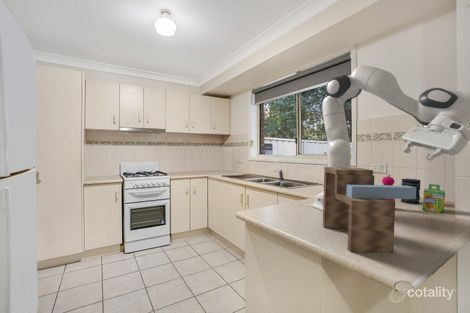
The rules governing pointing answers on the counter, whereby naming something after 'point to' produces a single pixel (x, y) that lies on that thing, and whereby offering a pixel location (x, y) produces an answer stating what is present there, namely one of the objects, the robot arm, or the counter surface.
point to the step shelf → (358, 211)
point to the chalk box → (433, 199)
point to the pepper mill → (388, 182)
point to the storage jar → (413, 184)
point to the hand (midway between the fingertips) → (416, 155)
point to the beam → (381, 191)
